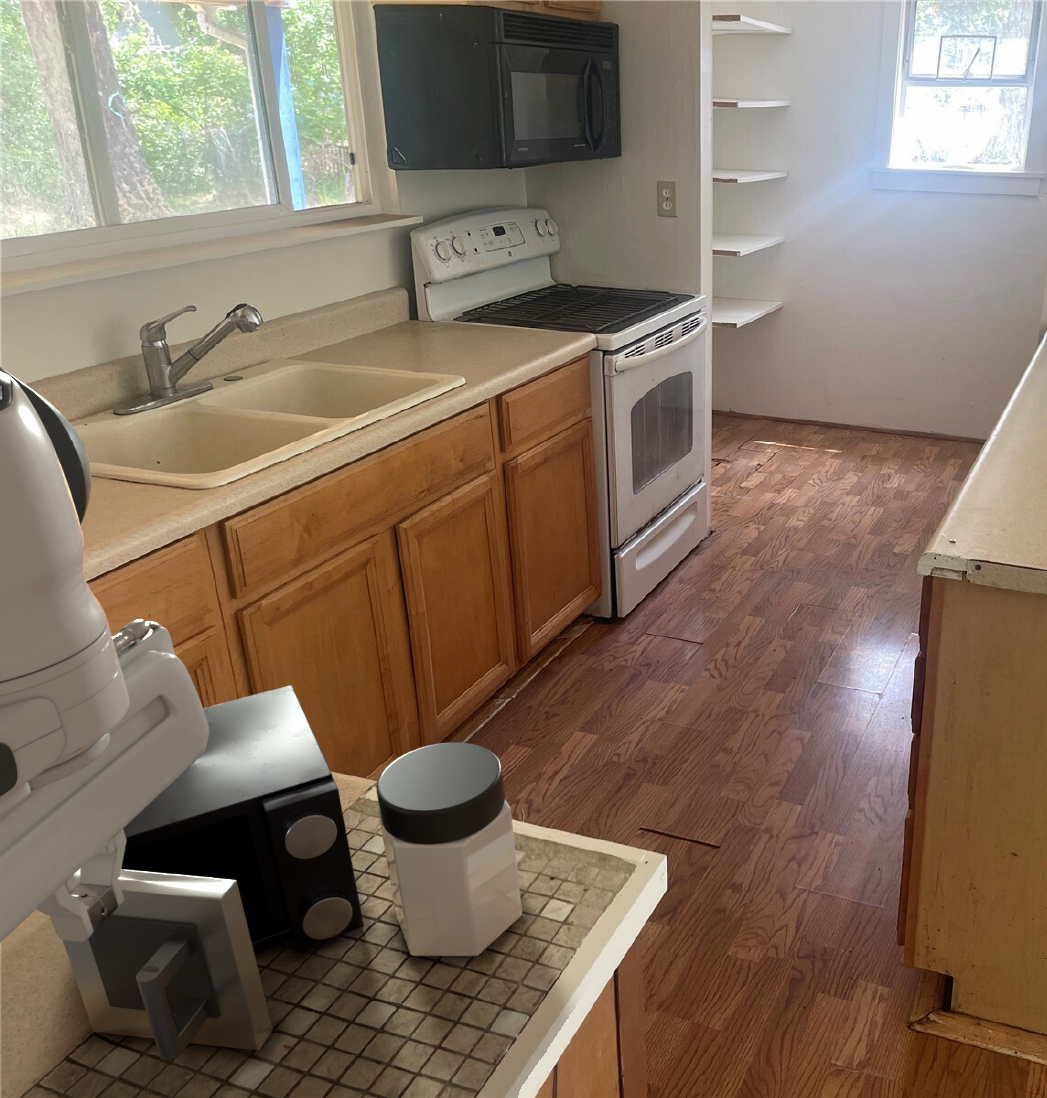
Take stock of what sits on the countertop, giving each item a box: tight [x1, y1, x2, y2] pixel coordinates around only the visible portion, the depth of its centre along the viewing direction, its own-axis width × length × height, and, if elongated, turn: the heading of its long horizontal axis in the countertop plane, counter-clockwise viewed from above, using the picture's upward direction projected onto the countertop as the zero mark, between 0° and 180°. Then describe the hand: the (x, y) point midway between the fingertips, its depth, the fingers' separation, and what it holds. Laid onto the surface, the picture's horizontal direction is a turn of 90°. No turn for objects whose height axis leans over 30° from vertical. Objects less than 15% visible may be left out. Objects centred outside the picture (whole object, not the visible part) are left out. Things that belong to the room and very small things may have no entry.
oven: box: [121, 684, 365, 955], centre depth 71 cm, size 16×16×12 cm
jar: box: [376, 742, 523, 957], centre depth 71 cm, size 9×8×12 cm
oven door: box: [62, 868, 274, 1062], centre depth 60 cm, size 5×11×12 cm, turn 82°
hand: (93, 922), depth 55 cm, fingers closed
